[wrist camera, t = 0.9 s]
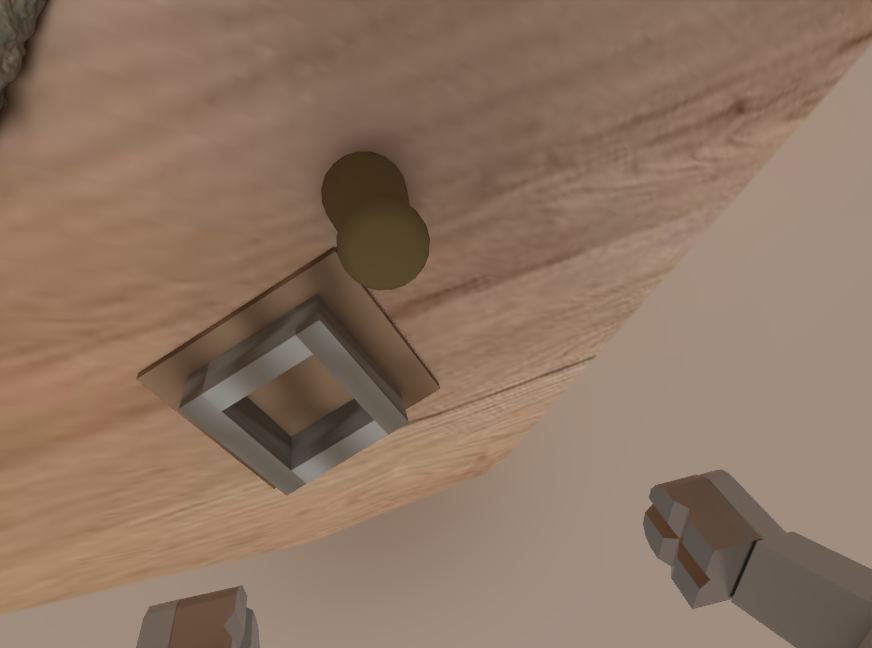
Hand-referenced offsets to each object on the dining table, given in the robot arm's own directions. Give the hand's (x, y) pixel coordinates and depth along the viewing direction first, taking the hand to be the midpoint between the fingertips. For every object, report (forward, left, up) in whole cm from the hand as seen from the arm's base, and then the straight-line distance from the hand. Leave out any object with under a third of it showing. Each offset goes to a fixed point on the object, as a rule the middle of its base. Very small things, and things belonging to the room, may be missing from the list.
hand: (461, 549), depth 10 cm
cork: (0, +3, -31) cm, 31 cm away
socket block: (+13, +13, -30) cm, 35 cm away
